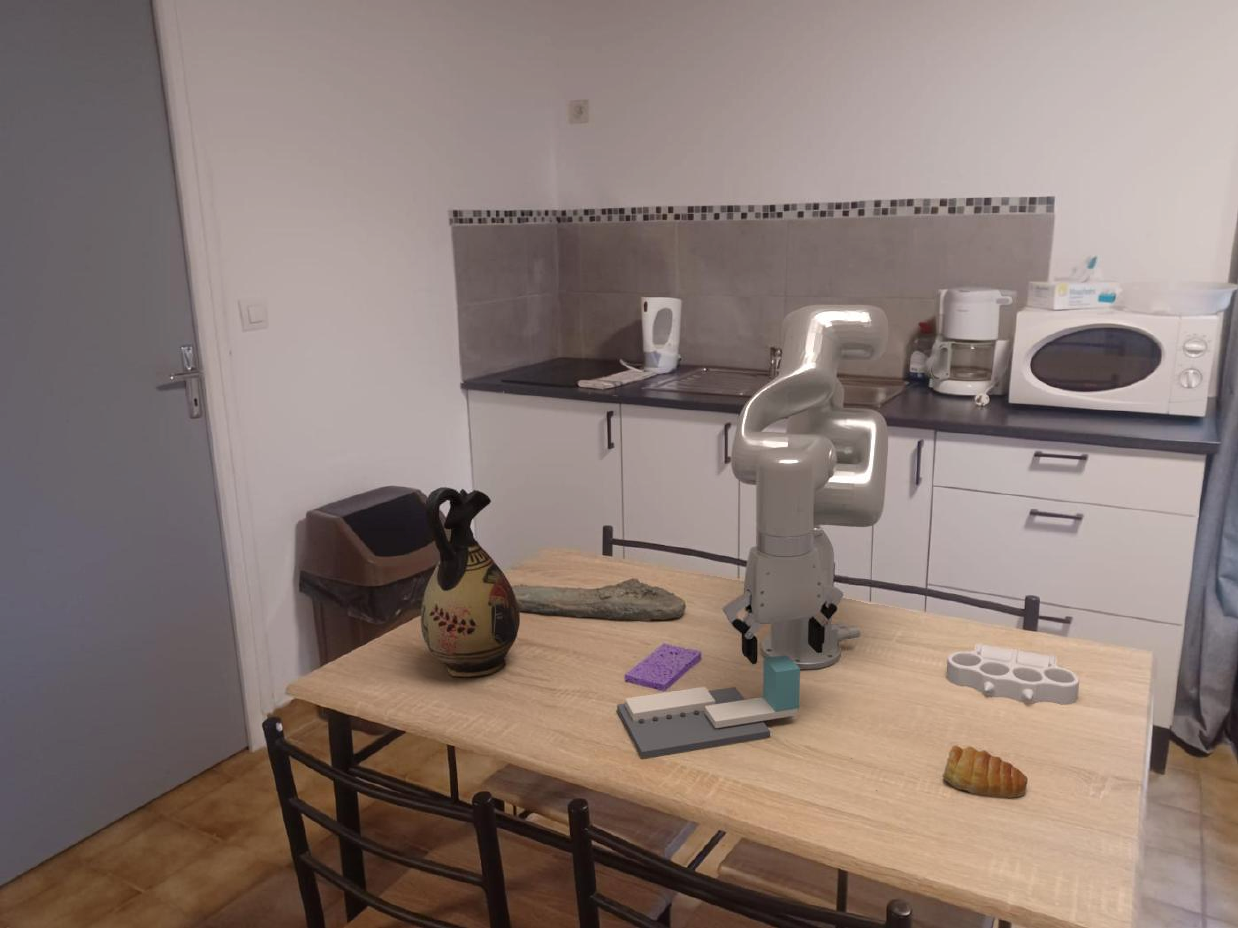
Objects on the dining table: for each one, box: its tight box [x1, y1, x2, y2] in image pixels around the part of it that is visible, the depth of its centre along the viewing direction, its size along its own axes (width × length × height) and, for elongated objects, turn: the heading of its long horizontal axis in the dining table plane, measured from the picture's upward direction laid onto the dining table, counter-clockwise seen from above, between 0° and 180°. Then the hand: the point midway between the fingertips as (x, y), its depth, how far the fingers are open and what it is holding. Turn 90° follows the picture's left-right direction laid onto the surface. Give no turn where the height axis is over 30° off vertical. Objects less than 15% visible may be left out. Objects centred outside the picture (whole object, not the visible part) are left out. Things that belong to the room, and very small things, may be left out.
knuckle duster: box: [945, 642, 1080, 706], centre depth 139 cm, size 3×18×15 cm
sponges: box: [624, 642, 703, 692], centre depth 146 cm, size 7×13×2 cm, turn 149°
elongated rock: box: [511, 577, 687, 622], centre depth 170 cm, size 35×5×10 cm
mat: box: [616, 686, 771, 760], centre depth 130 cm, size 18×13×1 cm
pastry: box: [942, 745, 1028, 799], centre depth 114 cm, size 9×7×4 cm
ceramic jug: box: [420, 486, 521, 678], centre depth 145 cm, size 17×15×30 cm
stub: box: [704, 655, 801, 728], centre depth 129 cm, size 12×4×7 cm, turn 104°
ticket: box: [624, 686, 715, 724], centre depth 132 cm, size 12×5×1 cm, turn 104°
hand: (783, 653), depth 130 cm, fingers open, 9 cm apart
